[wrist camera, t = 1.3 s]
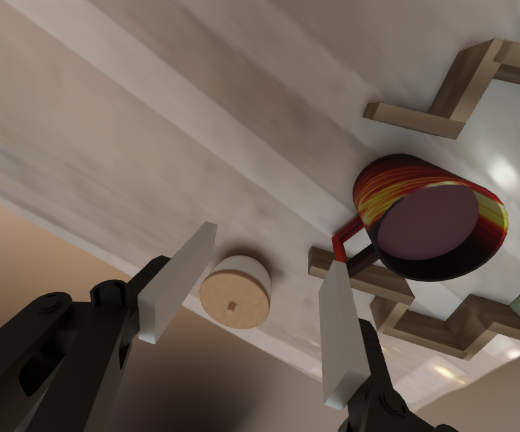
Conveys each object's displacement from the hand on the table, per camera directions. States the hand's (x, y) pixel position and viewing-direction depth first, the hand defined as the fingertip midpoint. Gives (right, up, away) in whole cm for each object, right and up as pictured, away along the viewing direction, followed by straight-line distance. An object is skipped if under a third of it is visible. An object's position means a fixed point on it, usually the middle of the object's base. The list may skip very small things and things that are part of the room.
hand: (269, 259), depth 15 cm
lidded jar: (-3, -7, +26) cm, 27 cm away
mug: (+16, +4, +16) cm, 23 cm away
